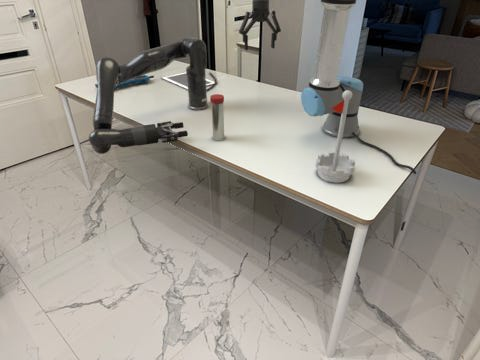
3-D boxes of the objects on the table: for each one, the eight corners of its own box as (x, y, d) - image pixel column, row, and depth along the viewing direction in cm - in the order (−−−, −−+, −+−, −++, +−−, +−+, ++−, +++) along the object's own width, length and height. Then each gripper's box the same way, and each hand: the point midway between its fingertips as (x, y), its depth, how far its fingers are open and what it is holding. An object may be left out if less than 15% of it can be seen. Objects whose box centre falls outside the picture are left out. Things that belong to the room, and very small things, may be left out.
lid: (208, 103, 134) (208, 98, 133) (213, 98, 138) (213, 93, 137) (221, 104, 132) (221, 99, 131) (226, 99, 137) (225, 94, 136)
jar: (211, 139, 143) (209, 98, 133) (215, 134, 147) (213, 94, 137) (222, 141, 141) (220, 100, 132) (226, 136, 145) (224, 96, 136)
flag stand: (338, 161, 126) (352, 82, 110) (360, 179, 116) (380, 94, 100) (307, 168, 122) (318, 86, 106) (328, 187, 112) (342, 100, 96)
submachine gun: (140, 68, 224) (158, 75, 207) (141, 74, 226) (159, 81, 209) (87, 79, 205) (103, 86, 189) (89, 85, 207) (104, 93, 190)
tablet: (161, 78, 216) (161, 77, 216) (188, 72, 227) (188, 71, 227) (189, 90, 196) (189, 89, 195) (217, 83, 207) (217, 82, 206)
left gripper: (144, 133, 125) (188, 127, 129) (141, 119, 136) (181, 113, 141) (148, 151, 129) (189, 144, 134) (144, 136, 140) (182, 130, 145)
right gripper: (283, -3, 158) (280, 45, 170) (231, -1, 152) (232, 48, 164) (289, -1, 152) (286, 48, 163) (236, 0, 146) (236, 52, 158)
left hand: (185, 128), depth 137 cm, fingers open, 8 cm apart
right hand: (259, 48), depth 164 cm, fingers open, 13 cm apart
